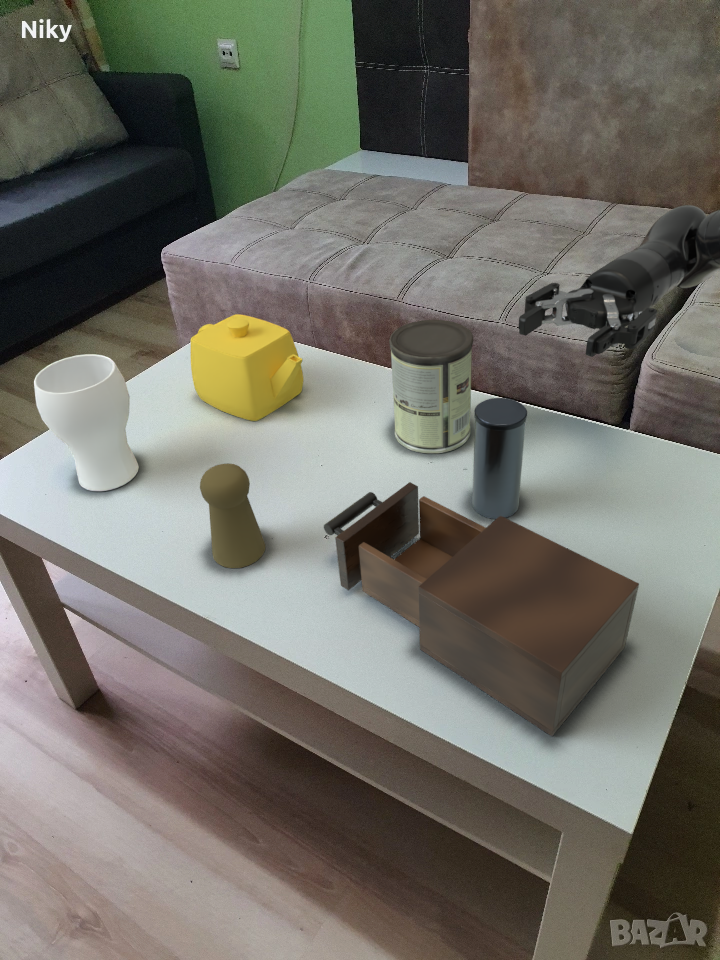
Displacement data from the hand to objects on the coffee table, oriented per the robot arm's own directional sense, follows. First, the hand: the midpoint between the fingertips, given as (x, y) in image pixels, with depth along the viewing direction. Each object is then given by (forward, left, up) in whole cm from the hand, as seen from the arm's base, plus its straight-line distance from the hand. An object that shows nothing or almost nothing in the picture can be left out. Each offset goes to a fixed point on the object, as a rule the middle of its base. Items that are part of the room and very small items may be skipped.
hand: (554, 337), depth 84 cm
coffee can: (+15, -3, -18) cm, 24 cm away
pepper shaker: (+28, +26, -18) cm, 43 cm away
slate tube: (+3, +9, -18) cm, 20 cm away
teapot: (+43, -4, -18) cm, 47 cm away
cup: (+52, +19, -18) cm, 59 cm away
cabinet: (-5, +29, -18) cm, 35 cm away
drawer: (+8, +25, -17) cm, 31 cm away
